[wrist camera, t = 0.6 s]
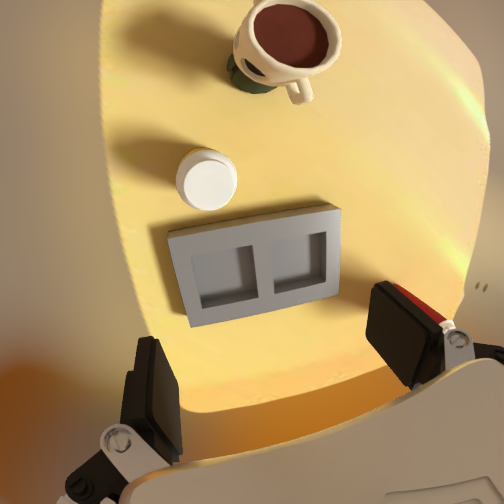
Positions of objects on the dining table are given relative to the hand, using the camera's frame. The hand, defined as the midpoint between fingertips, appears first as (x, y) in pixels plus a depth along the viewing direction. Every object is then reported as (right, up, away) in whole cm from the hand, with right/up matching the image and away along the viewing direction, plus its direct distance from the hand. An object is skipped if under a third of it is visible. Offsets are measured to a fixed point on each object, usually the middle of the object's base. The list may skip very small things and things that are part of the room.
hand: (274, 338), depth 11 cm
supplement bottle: (-6, +12, +18) cm, 23 cm away
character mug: (-1, +24, +15) cm, 28 cm away
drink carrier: (0, +2, +24) cm, 24 cm away
